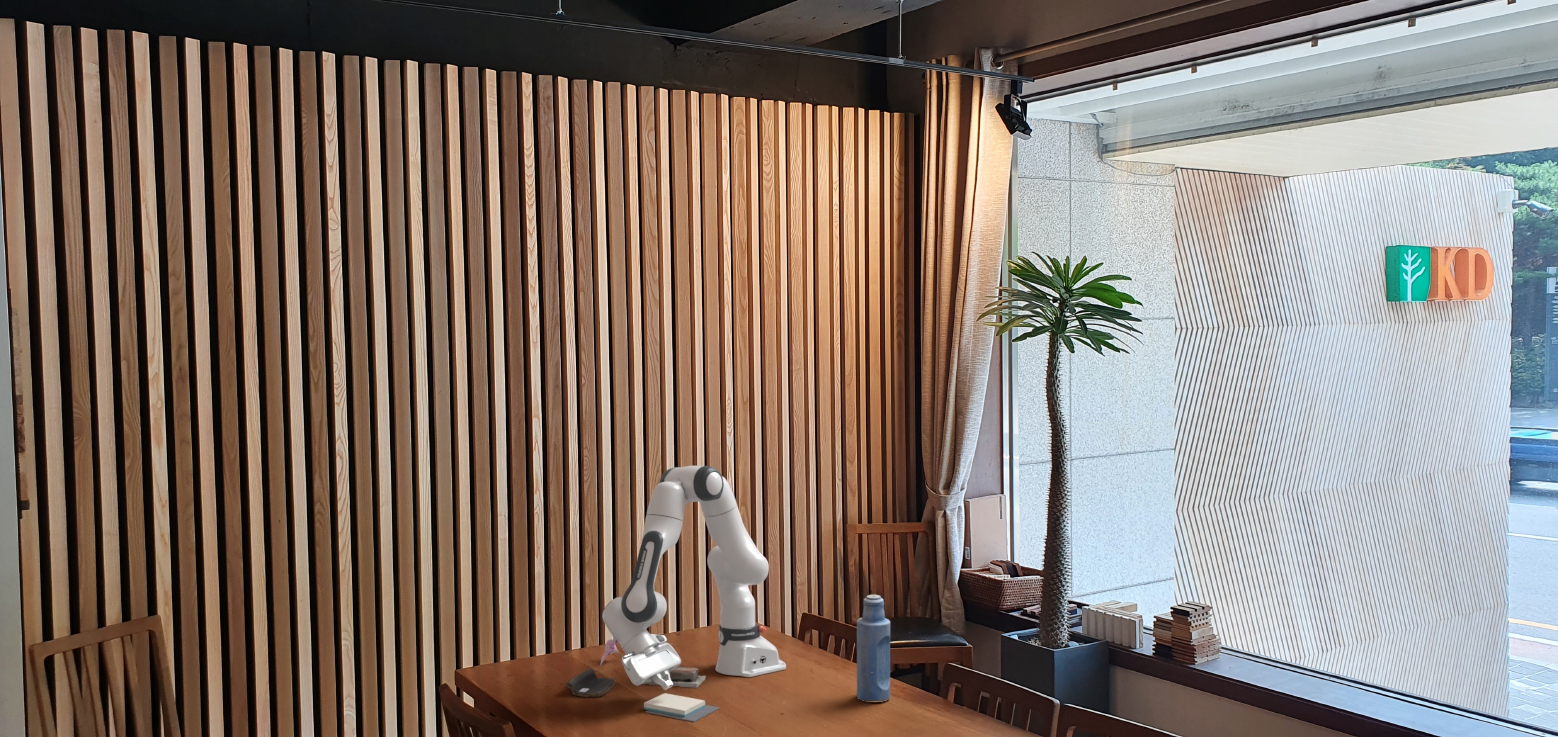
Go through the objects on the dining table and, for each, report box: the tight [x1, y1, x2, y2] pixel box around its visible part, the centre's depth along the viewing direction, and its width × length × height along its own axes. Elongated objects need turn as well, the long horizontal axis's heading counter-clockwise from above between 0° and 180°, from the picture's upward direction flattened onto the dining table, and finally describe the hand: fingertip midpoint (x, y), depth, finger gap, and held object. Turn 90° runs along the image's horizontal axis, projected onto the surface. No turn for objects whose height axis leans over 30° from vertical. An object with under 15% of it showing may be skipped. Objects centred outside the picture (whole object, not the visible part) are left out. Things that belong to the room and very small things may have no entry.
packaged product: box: [642, 666, 707, 688], centre depth 336 cm, size 18×5×10 cm
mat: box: [644, 704, 721, 723], centre depth 308 cm, size 16×13×1 cm
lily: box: [600, 637, 623, 666], centre depth 358 cm, size 12×12×10 cm
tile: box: [643, 692, 706, 717], centre depth 309 cm, size 2×10×14 cm
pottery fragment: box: [564, 668, 616, 698], centre depth 327 cm, size 15×12×4 cm
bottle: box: [856, 594, 891, 701], centre depth 318 cm, size 10×10×30 cm
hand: (669, 687), depth 310 cm, fingers closed
